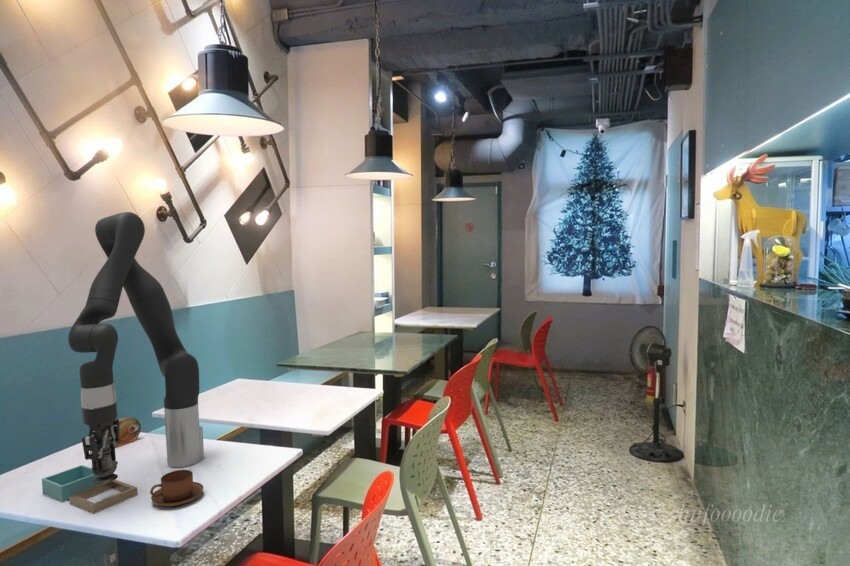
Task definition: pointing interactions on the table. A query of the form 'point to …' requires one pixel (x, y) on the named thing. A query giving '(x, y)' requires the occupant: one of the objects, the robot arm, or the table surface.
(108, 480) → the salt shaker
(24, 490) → the table surface
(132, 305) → the robot arm
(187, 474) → the cup and saucer
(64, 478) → the bin
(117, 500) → the socket collar
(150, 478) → the table surface
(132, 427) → the tin
